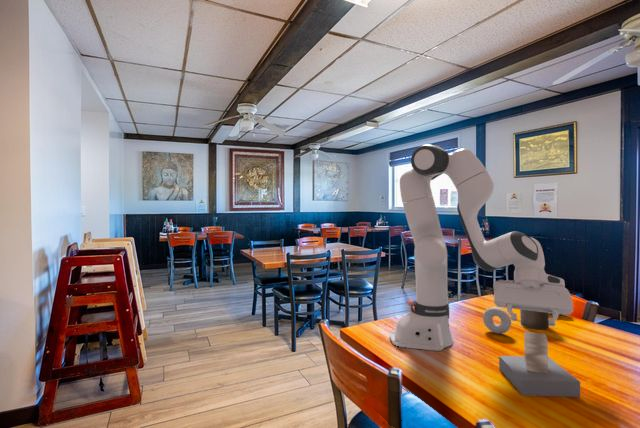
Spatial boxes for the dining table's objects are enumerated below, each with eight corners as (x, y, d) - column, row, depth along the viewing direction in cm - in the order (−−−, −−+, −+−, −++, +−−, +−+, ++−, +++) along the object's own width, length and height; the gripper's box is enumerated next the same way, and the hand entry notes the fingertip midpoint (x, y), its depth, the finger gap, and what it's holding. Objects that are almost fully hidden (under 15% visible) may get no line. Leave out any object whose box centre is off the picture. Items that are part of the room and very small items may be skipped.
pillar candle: (553, 330, 129) (553, 291, 129) (526, 329, 131) (526, 291, 130) (541, 321, 139) (540, 286, 139) (516, 321, 140) (515, 285, 140)
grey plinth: (522, 395, 86) (522, 380, 86) (499, 368, 100) (499, 355, 100) (580, 397, 85) (580, 381, 85) (548, 370, 99) (548, 356, 98)
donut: (512, 335, 125) (512, 308, 125) (509, 337, 123) (509, 311, 123) (484, 328, 132) (484, 304, 132) (481, 331, 130) (481, 305, 130)
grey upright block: (526, 369, 91) (525, 337, 91) (524, 362, 96) (524, 331, 95) (548, 373, 89) (547, 340, 89) (545, 365, 93) (545, 334, 93)
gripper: (493, 273, 108) (492, 312, 100) (570, 280, 99) (577, 322, 90) (493, 284, 112) (492, 322, 104) (567, 291, 103) (573, 333, 94)
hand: (532, 322), depth 97 cm, fingers open, 8 cm apart
